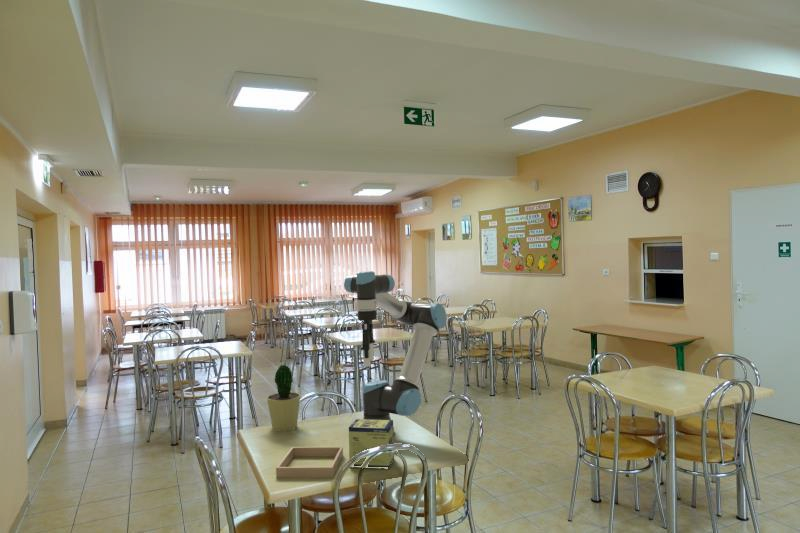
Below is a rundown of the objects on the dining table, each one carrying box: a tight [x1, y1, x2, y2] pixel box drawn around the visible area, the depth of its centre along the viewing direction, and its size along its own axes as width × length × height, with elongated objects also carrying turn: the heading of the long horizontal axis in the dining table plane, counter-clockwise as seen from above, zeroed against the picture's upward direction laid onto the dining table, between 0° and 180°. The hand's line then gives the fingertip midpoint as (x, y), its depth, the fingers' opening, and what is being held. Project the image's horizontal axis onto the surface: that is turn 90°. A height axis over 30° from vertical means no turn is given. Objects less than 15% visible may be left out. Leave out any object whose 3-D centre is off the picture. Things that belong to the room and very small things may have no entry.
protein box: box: [348, 418, 395, 469], centre depth 208 cm, size 10×16×16 cm
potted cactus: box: [266, 364, 301, 432], centre depth 257 cm, size 15×15×30 cm
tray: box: [275, 446, 344, 478], centre depth 207 cm, size 21×22×4 cm
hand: (368, 362), depth 219 cm, fingers open, 13 cm apart
